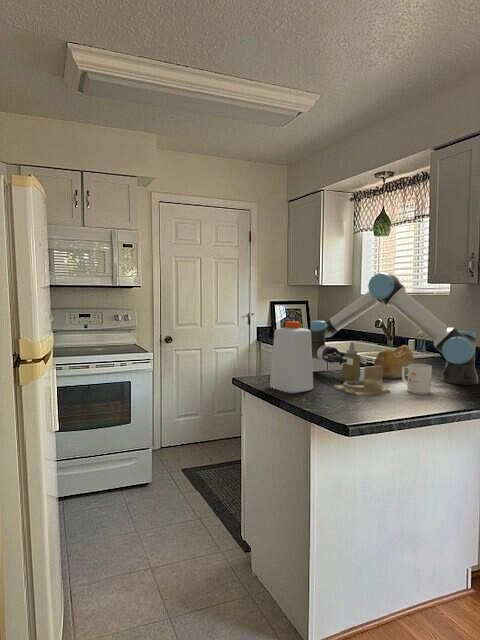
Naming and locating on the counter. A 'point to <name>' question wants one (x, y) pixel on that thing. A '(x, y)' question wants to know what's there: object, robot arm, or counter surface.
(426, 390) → the mug
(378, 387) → the cup bracket
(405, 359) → the rough brown rock
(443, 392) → the counter surface
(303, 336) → the plastic bottle
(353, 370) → the squeeze bottle
